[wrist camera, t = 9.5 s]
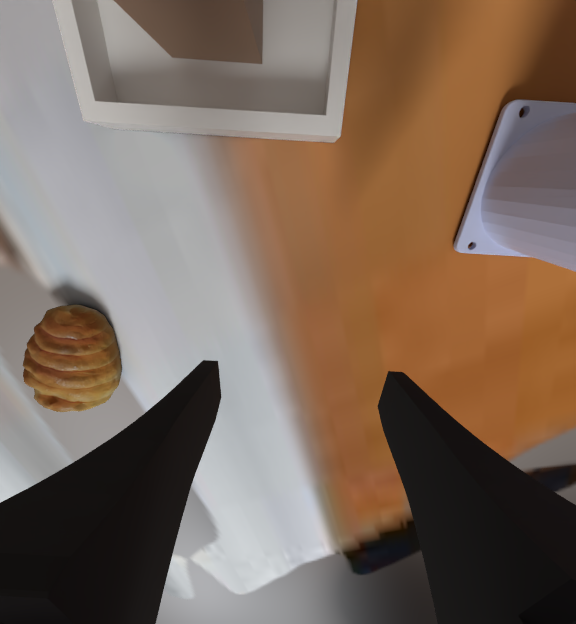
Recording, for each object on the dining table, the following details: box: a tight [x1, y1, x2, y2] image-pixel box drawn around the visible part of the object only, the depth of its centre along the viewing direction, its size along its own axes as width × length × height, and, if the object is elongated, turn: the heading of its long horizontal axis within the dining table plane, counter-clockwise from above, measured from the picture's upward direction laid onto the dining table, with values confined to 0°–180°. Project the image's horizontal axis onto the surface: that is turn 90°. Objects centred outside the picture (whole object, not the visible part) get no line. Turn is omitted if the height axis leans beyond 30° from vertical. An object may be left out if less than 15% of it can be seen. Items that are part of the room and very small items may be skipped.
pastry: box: [23, 305, 122, 412], centre depth 21 cm, size 9×7×4 cm
